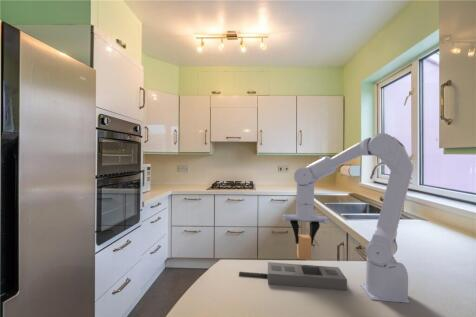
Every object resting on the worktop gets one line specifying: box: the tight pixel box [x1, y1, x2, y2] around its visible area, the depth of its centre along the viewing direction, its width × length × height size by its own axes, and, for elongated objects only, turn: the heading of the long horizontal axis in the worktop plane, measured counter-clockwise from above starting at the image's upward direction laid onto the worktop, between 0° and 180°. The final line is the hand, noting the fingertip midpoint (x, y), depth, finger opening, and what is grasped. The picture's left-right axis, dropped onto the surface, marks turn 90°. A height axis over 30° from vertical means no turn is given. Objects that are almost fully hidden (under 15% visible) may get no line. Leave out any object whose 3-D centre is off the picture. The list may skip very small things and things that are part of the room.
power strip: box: [238, 261, 348, 291], centre depth 75 cm, size 31×8×3 cm, turn 84°
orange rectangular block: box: [296, 233, 312, 261], centre depth 83 cm, size 4×4×7 cm
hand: (303, 243), depth 84 cm, fingers closed on orange rectangular block, 4 cm apart
